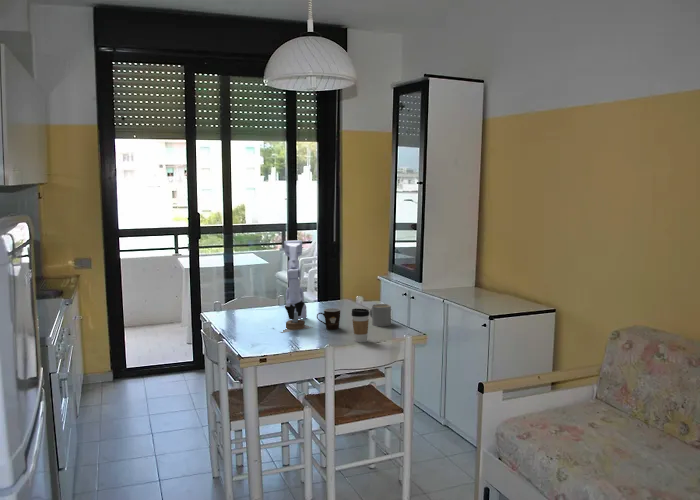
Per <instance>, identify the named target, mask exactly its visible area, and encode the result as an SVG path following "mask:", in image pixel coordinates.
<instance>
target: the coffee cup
mask: <svg viewBox="0 0 700 500" xmlns="http://www.w3.org/2000/svg"><path fill="white" fill-rule="evenodd" d="M369 316H370V309H367V308H352V309H351V317H352V320H351V321H352V329H353V336H354V337H353V338H354V341H355V342H357V343H365V342H368V333H369V332H368V331H369Z"/></svg>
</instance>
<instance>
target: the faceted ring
mask: <svg viewBox="0 0 700 500" xmlns="http://www.w3.org/2000/svg"><path fill="white" fill-rule="evenodd" d="M285 323H286V328H287V329H295V330H296V331H298V330H297V329H302V330H304V329H303V328H304V327H305V325H306V324H305V320H304V319H303V320H298V323H292V320H287V321H286V322H285Z"/></svg>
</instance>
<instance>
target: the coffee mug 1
mask: <svg viewBox="0 0 700 500" xmlns="http://www.w3.org/2000/svg"><path fill="white" fill-rule="evenodd" d="M319 315H323V318H324V319H325V320H324V321H322V320H321V319H320V318H319ZM340 318H341V309H340V308H337V307H332V308H331V307H329V308H325V309H323V312H318V313H317V314H316V319H317V320H318V321H319V322H321V323H322V324H324V325H325V327H326V328H325V329H326V330H329V331H336V330H339V329H340V322H341V321H340Z"/></svg>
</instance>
